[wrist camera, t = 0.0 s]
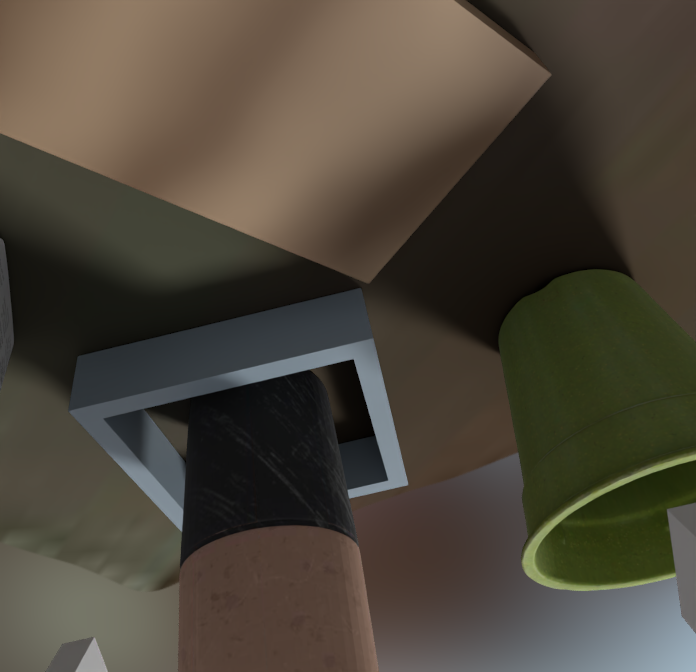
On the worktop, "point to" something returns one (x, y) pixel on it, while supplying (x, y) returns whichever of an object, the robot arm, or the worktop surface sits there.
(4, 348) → the coffee box
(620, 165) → the worktop surface
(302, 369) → the holder frame
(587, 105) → the worktop surface
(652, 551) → the plant pot
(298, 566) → the travel mug
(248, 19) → the walnut board
